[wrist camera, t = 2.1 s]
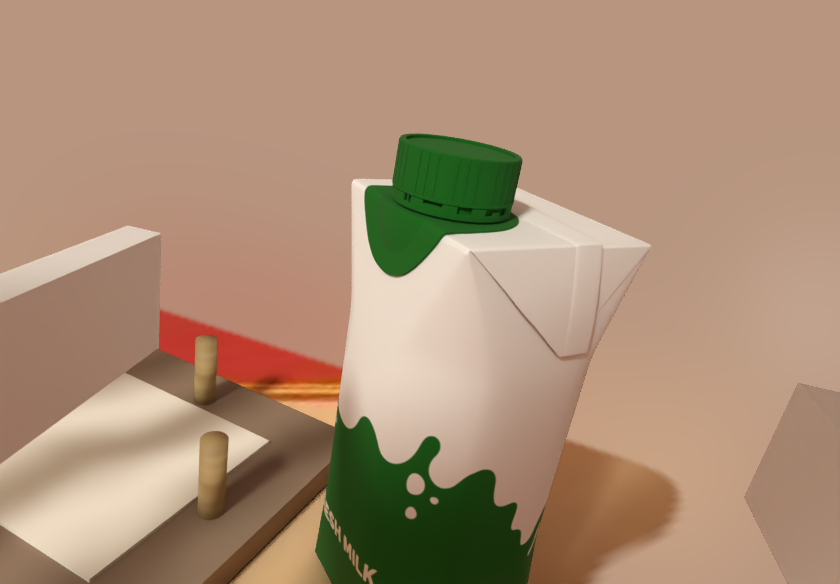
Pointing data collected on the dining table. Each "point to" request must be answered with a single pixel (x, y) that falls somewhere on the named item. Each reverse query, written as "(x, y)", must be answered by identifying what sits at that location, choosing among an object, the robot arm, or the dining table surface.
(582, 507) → the dining table surface
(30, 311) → the robot arm
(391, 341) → the soya milk
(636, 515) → the dining table surface
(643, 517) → the dining table surface
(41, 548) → the pin base plate
